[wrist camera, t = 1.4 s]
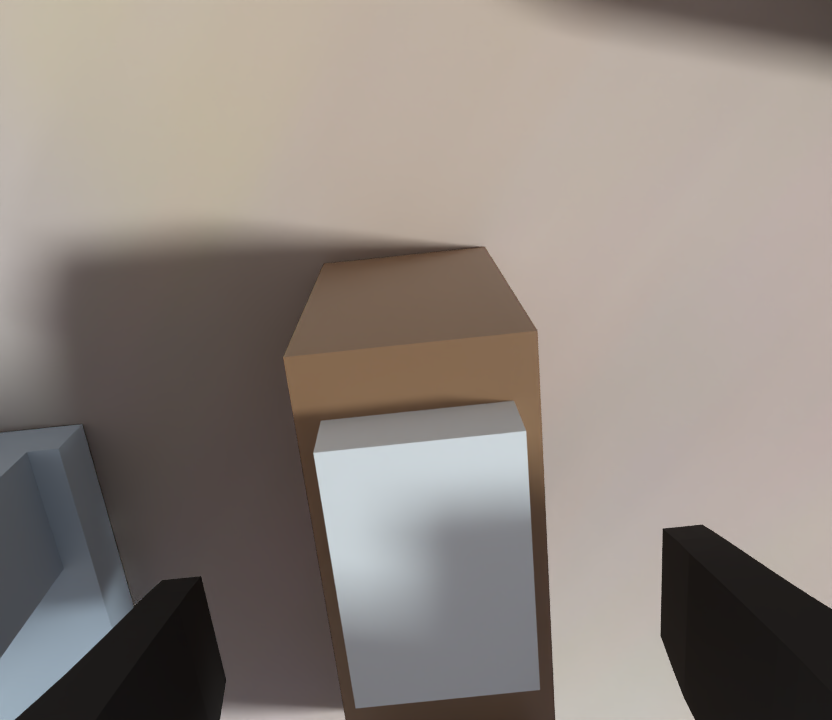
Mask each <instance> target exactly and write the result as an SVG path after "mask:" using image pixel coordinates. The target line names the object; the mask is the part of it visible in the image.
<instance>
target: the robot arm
mask: <svg viewBox="0 0 832 720" xmlns="http://www.w3.org/2000/svg"><path fill="white" fill-rule="evenodd" d="M661 638H662V641H663V643H664V646H665V649H666V652H667V654H668V657H669V660H670V663H671V665H672V668H673V671H674V673H675V676H676V678H677V681H678V684H679V686H680V689H681V691H682V694H683V696H684V699H685V701H686V703H687V705H688V707H689V709H690V711H691V713H692V715H693V716H694V718H695V720H832V609H831V608H829V607H827V606H826V605H824V604H823V603H821V602H819V601H818V600H816V599H815V598H813V597H811V596H810V595H808V594H807V593H805V592H804V591H802V590H801V589H799V588H797V587H796V586H794V585H793V584H791V583H790V582H788V581H787V580H785V579H784V578H782V577H781V576H779V575H778V574H776V573H775V572H773V571H772V570H770V569H769V568H767V567H766V566H764V565H763V564H761V563H760V562H758V561H757V560H755V559H754V558H752V557H751V556H749V555H748V554H746V553H745V552H743V551H742V550H740V549H739V548H737V547H736V546H734V545H733V544H731V543H730V542H729V541H727V540H726V539H724V538H722V537H721V536H719V535H718V534H716V533H715V532H713V531H712V530H710V529H708V528H707V527H705V526H704V525H694V526H685V527H675V528H665V529H663V546H662V595H661ZM225 684H226V678H225V674H224V669H223V665H222V661H221V657H220V653H219V649H218V645H217V641H216V636H215V632H214V628H213V624H212V620H211V616H210V612H209V608H208V603H207V599H206V595H205V591H204V587H203V583H202V579H201V576H200V577H190V578H181V579H171V580H162V581H161V582H160V583H159V584H158V585H157V586H155V587H154V588H153V589H152V590H151V591H150V592H149V593H148V594H147V595H146V596H145V597H144V598H143V599H142V600H141V601H140V602H139V603H138V604H137V605H136V606H135V607H134V608H133V609H132V610H131V611H130V612H128V613H127V614H126V615H125V616H124V617H123V618H122V619H121V620H120V621H119V622H118V623H117V624H116V625H115V626H114V627H113V628H112V629H111V630H110V631H109V632H108V633H107V634H106V635H105V636H104V637H103V638H102V639H101V640H100V641H99V642H98V643H97V644H96V645H95V646H94V647H93V648H92V649H91V650H90V651H89V652H88V653H87V654H86V655H85V656H84V657H83V658H82V659H80V660H79V661H78V662H77V663H76V664H75V665H74V666H73V667H72V668H71V669H70V670H69V671H68V672H67V673H66V674H65V675H64V676H63V677H62V678H61V679H59V680H58V681H57V682H56V683H55V684H54V685H53V686H52V687H50V688H49V689H48V690H47V691H46V692H45V693H44V694H43V695H42V696H40V697H39V698H38V699H37V700H36V701H35V702H34V703H33V704H31V705H30V706H29V707H28V708H27V709H26V710H25V711H24V712H23V713H21V714H20V715H19V716H18V717H17V718H16V719H15V720H220V715H221V709H222V703H223V696H224V690H225Z"/></svg>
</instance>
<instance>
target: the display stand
mask: <svg viewBox="0 0 832 720" xmlns="http://www.w3.org/2000/svg"><path fill="white" fill-rule="evenodd" d="M133 608H134V606H133V602H132V599H131V595H130V592H129V588H128V585H127V581H126V578H125V574H124V571H123V567H122V563H121V560H120V556H119V553H118V549H117V546H116V542H115V539H114V535H113V532H112V528H111V525H110V521H109V517H108V514H107V510H106V507H105V503H104V500H103V496H102V493H101V489H100V486H99V482H98V479H97V475H96V471H95V468H94V464H93V461H92V457H91V454H90V450H89V447H88V443H87V440H86V436H85V432H84V429H83V425H82V424H79V425H70V426H60V427H50V428H41V429H31V430H21V431H12V432H2V433H0V720H15V719H16V718H17V717H18V716H19V715H20V714H21V713H23V712H24V711H25V710H26V709H27V708H28V707H29V706H30V705H31V704H33V703H34V702H35V701H36V700H37V699H38V698H39V697H40V696H42V695H43V694H44V693H45V692H46V691H47V690H48V689H49V688H50V687H52V686H53V685H54V684H55V683H56V682H57V681H58V680H59V679H61V678H62V677H63V676H64V675H65V674H66V673H67V672H68V671H69V670H70V669H71V668H72V667H73V666H74V665H75V664H76V663H77V662H78V661H79V660H80V659H82V658H83V657H84V656H85V655H86V654H87V653H88V652H89V651H90V650H91V649H92V648H93V647H94V646H95V645H96V644H97V643H98V642H99V641H100V640H101V639H102V638H103V637H104V636H105V635H106V634H107V633H108V632H109V631H110V630H111V629H112V628H113V627H114V626H115V625H116V624H117V623H118V622H119V621H120V620H121V619H122V618H123V617H124V616H125V615H126V614H127V613H128V612H130V611H131V610H132V609H133Z"/></svg>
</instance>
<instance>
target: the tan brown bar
mask: <svg viewBox="0 0 832 720" xmlns="http://www.w3.org/2000/svg"><path fill="white" fill-rule="evenodd" d="M283 360H284V366H285V371H286V377H287V383H288V389H289V395H290V400H291V406H292V412H293V418H294V423H295V429H296V435H297V441H298V447H299V452H300V458H301V464H302V470H303V476H304V481H305V487H306V493H307V499H308V505H309V510H310V516H311V522H312V528H313V534H314V539H315V545H316V551H317V557H318V562H319V568H320V574H321V580H322V586H323V591H324V597H325V603H326V609H327V615H328V620H329V626H330V632H331V638H332V644H333V649H334V655H335V661H336V667H337V672H338V678H339V684H340V690H341V696H342V701H343V707H344V713H345V719H346V720H555V707H554V685H553V663H552V641H551V619H550V597H549V575H548V553H547V531H546V509H545V487H544V465H543V443H542V421H541V399H540V377H539V355H538V333H537V329H536V328H535V326H534V325H533V323H532V321H531V320H530V318H529V317H528V315H527V313H526V312H525V310H524V309H523V307H522V305H521V304H520V302H519V301H518V299H517V297H516V296H515V294H514V293H513V291H512V289H511V288H510V286H509V285H508V283H507V281H506V280H505V278H504V277H503V275H502V273H501V272H500V270H499V269H498V267H497V265H496V264H495V262H494V261H493V259H492V257H491V256H490V254H489V253H488V251H487V249H486V248H485V247H477V248H468V249H458V250H449V251H439V252H430V253H420V254H411V255H401V256H392V257H382V258H373V259H363V260H353V261H344V262H334V263H325V264H323V267H322V269H321V271H320V274H319V276H318V278H317V281H316V283H315V285H314V287H313V290H312V292H311V294H310V297H309V299H308V301H307V303H306V306H305V308H304V310H303V313H302V315H301V317H300V320H299V322H298V324H297V326H296V329H295V331H294V333H293V336H292V338H291V340H290V343H289V345H288V347H287V349H286V352H285V354H284V356H283Z"/></svg>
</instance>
